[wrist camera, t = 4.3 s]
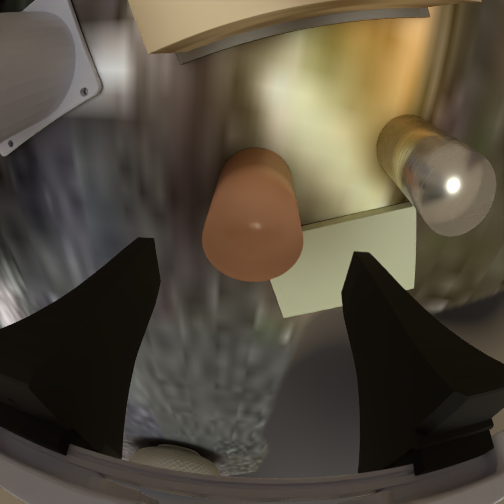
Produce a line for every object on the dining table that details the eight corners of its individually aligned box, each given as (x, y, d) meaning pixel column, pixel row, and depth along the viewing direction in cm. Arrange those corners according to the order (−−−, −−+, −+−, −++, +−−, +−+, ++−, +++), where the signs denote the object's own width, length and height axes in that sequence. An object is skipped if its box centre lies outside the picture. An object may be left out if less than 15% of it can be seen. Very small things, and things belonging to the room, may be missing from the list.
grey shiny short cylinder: (380, 185, 17) (421, 244, 12) (371, 120, 15) (420, 158, 10) (438, 173, 16) (491, 226, 11) (434, 110, 14) (497, 146, 9)
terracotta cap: (233, 220, 19) (222, 289, 14) (209, 159, 16) (186, 213, 12) (299, 203, 18) (312, 270, 13) (281, 139, 16) (289, 186, 11)
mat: (283, 311, 23) (283, 317, 23) (256, 236, 19) (256, 242, 19) (411, 282, 21) (413, 288, 21) (412, 201, 17) (415, 205, 17)
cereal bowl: (222, 443, 43) (219, 482, 37) (224, 465, 52) (222, 496, 47) (121, 427, 42) (113, 463, 37) (144, 454, 52) (139, 483, 47)
